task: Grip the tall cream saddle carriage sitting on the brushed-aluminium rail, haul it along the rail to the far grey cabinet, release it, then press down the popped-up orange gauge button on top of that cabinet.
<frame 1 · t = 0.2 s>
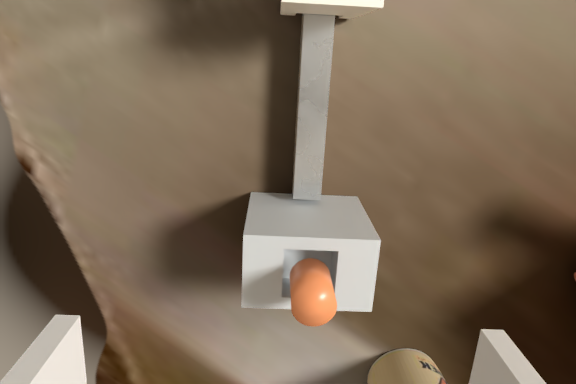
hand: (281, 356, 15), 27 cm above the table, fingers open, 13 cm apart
coffee cup: (401, 376, 49), on the table
rail: (314, 42, 38), on the table
far cabinet: (302, 224, 43), on the table
gauge button: (311, 290, 31), point 12 cm above the table, slide at 0.0 cm
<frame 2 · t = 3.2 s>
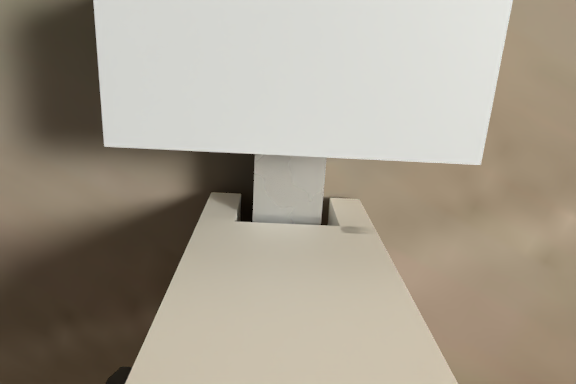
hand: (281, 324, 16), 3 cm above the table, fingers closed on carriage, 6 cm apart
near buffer: (293, 53, 17), on the table
carriage: (282, 371, 14), point 6 cm above the table, slide at 0.0 cm, touching gripper
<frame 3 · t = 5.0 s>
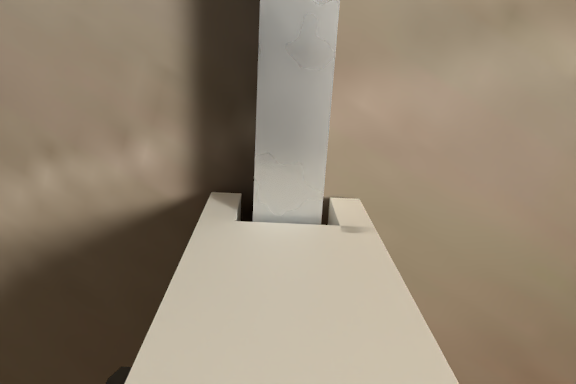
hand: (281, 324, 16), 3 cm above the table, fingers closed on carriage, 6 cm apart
rail: (282, 244, 19), on the table
carriage: (282, 370, 14), point 6 cm above the table, slide at 7.7 cm, touching gripper
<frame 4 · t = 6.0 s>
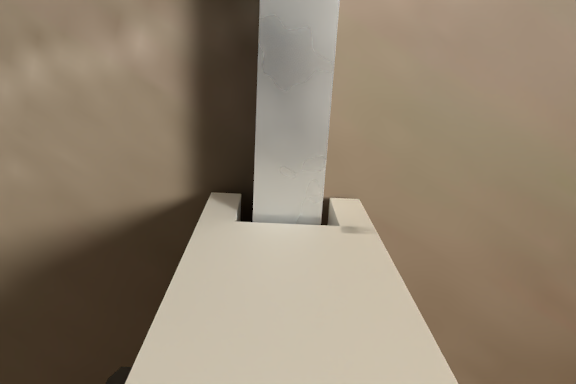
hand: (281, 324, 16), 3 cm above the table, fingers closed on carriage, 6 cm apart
rail: (288, 146, 18), on the table
carriage: (282, 371, 14), point 6 cm above the table, slide at 11.9 cm, touching gripper
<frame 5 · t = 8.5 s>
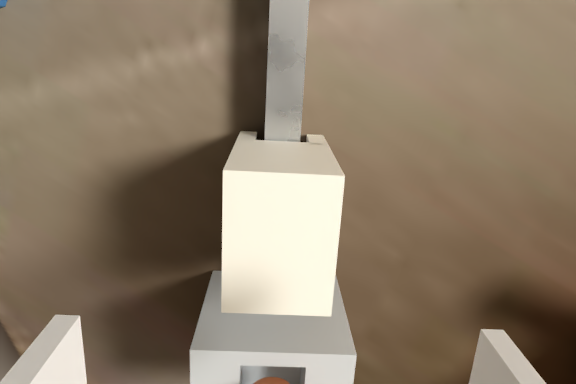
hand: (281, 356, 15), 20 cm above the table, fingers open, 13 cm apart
rail: (283, 105, 32), on the table
carriage: (279, 210, 28), point 6 cm above the table, slide at 12.0 cm
far cabinet: (273, 305, 37), on the table
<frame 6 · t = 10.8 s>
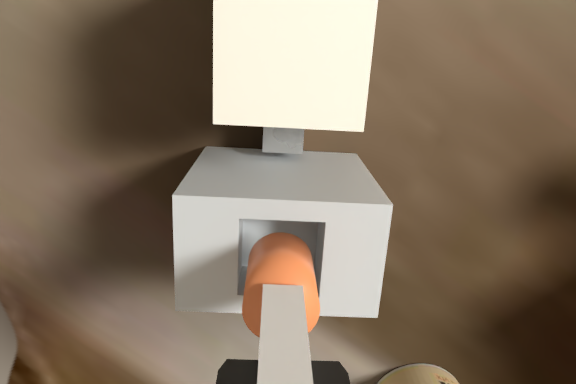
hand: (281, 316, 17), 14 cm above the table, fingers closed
carriage: (290, 26, 22), point 6 cm above the table, slide at 12.0 cm
far cabinet: (279, 192, 31), on the table
gauge button: (280, 283, 19), point 12 cm above the table, slide at 0.1 cm, touching gripper
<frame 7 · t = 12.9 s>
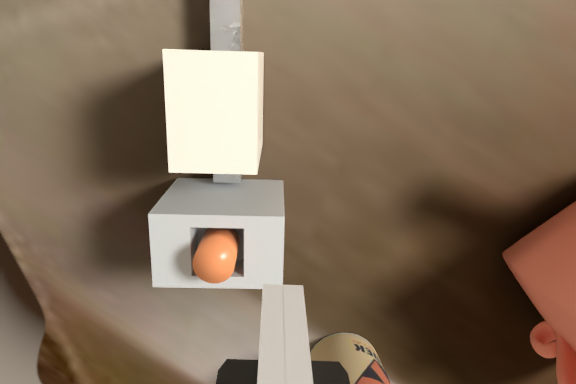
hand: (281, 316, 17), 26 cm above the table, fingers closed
coffee cup: (342, 361, 49), on the table
rail: (229, 27, 38), on the table
carriage: (221, 105, 34), point 6 cm above the table, slide at 12.0 cm
far cabinet: (230, 208, 43), on the table
gauge button: (217, 252, 34), point 10 cm above the table, slide at 2.3 cm
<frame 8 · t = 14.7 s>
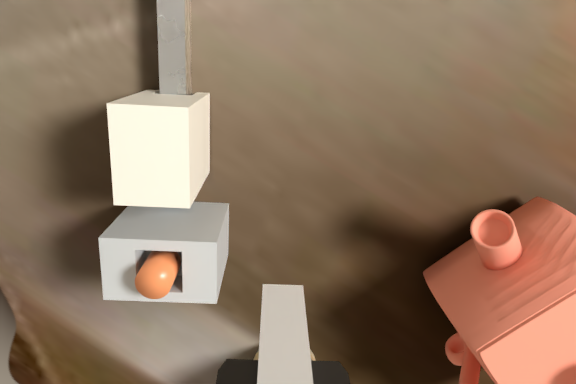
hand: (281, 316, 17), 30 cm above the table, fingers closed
teapot: (493, 259, 51), on the table
rail: (179, 70, 43), on the table
carriage: (166, 143, 39), point 6 cm above the table, slide at 12.0 cm
far cabinet: (182, 227, 48), on the table
gauge button: (159, 271, 39), point 10 cm above the table, slide at 2.3 cm
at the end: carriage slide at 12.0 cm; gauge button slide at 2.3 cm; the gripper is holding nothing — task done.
